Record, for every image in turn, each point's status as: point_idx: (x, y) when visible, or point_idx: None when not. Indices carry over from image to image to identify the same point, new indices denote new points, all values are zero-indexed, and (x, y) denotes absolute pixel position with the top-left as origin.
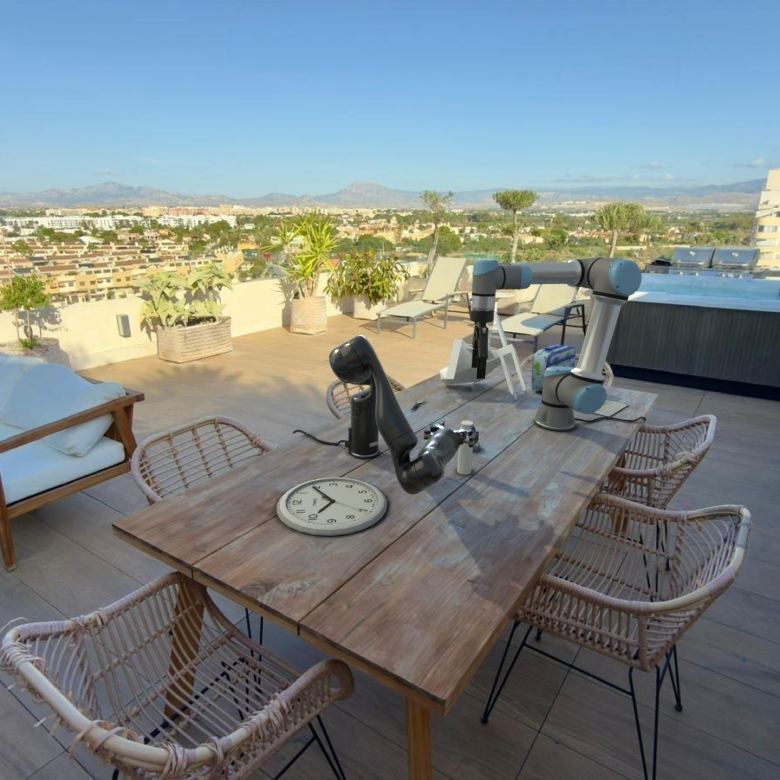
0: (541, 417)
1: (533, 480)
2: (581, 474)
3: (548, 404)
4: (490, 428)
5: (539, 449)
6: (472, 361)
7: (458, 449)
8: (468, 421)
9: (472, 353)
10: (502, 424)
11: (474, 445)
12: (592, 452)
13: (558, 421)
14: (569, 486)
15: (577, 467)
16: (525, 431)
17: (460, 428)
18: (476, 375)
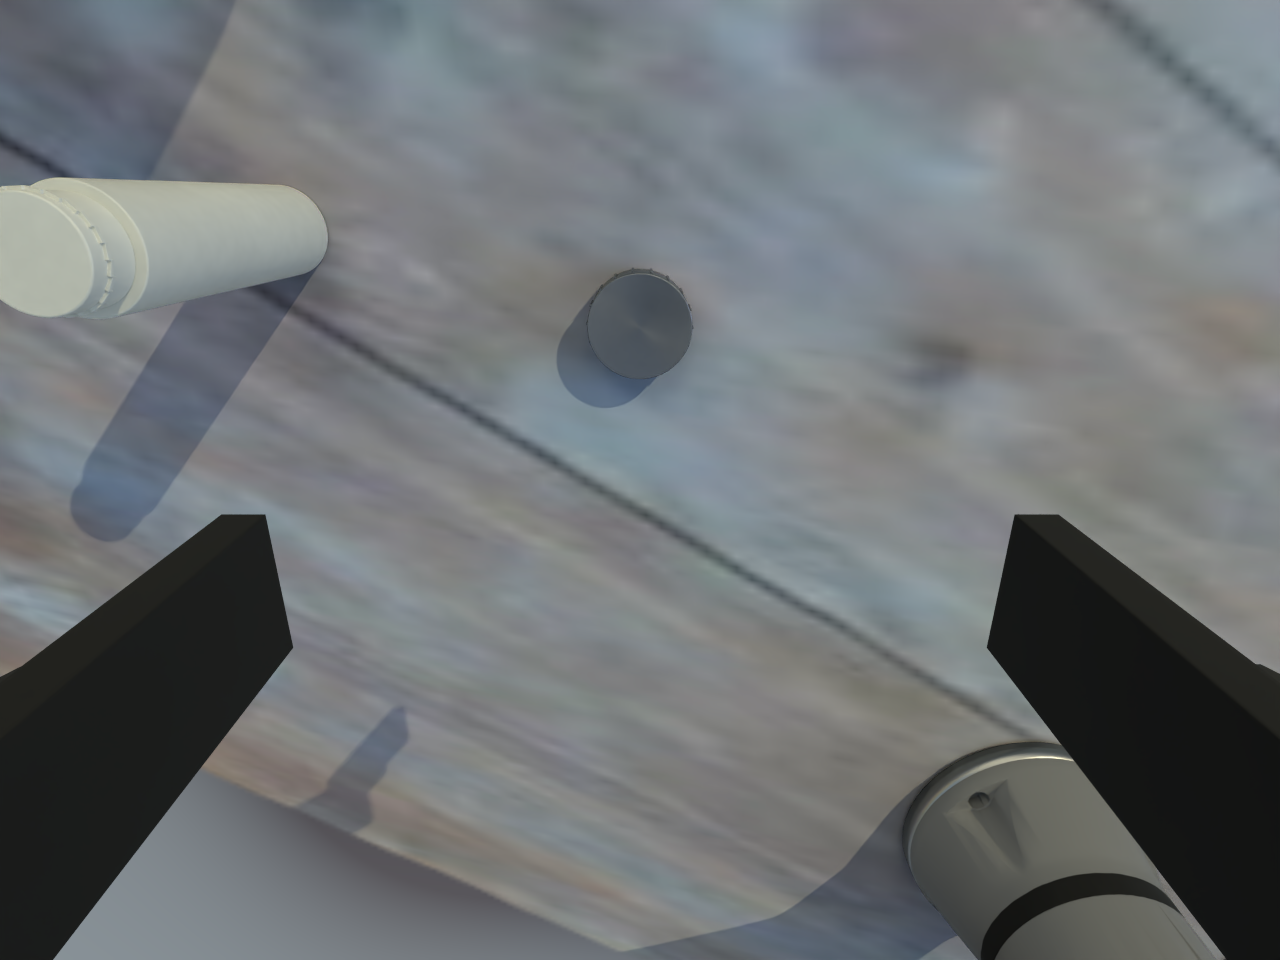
0: (1007, 800)
1: None
2: (388, 789)
3: (1035, 903)
4: (984, 486)
5: (657, 687)
6: (1090, 590)
7: (194, 182)
8: (69, 272)
9: (1258, 709)
10: None
11: (594, 338)
12: (638, 885)
13: (932, 863)
14: (250, 717)
15: (460, 792)
16: (916, 671)
17: (65, 185)
18: (234, 538)
